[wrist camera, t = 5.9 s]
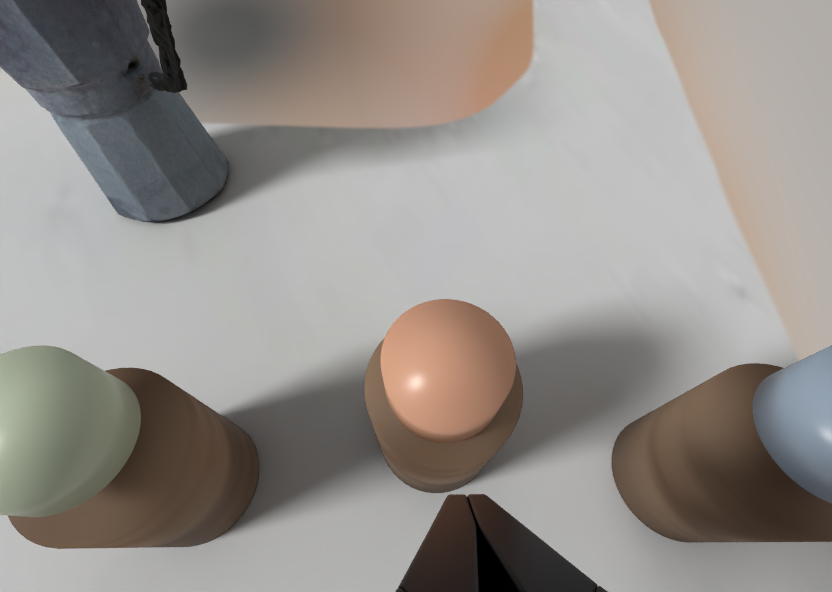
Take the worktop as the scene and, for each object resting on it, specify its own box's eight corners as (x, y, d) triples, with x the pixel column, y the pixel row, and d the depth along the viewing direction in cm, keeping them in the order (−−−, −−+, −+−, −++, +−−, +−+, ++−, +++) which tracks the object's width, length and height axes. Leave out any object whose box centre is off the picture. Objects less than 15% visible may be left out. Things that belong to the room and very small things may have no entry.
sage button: (169, 405, 14) (127, 381, 12) (62, 545, 12) (-12, 545, 10) (72, 354, 15) (17, 324, 13) (-42, 476, 13) (-130, 463, 11)
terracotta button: (517, 355, 16) (532, 327, 14) (478, 464, 14) (489, 451, 12) (414, 313, 17) (414, 282, 15) (364, 411, 15) (355, 390, 13)
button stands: (693, 377, 24) (803, 312, 17) (752, 541, 20) (928, 540, 13) (171, 381, 24) (74, 316, 17) (121, 547, 20) (-34, 549, 13)
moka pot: (130, 125, 36) (-133, -261, 19) (295, 159, 34) (171, -241, 17) (51, 204, 31) (-396, -213, 14) (238, 250, 29) (-19, -175, 12)
